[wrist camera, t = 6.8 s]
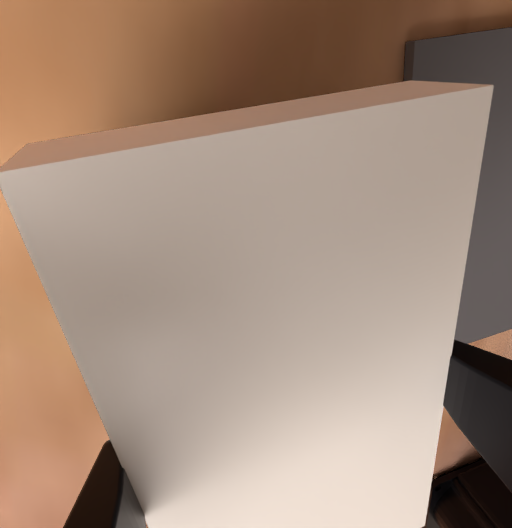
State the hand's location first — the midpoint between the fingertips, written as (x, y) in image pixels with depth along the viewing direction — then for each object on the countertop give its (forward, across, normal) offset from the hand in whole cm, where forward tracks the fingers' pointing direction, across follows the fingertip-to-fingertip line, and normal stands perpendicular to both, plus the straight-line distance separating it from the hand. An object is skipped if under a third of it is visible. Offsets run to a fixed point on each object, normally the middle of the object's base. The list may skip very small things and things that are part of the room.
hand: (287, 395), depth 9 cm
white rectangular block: (+1, 0, 0) cm, 1 cm away
